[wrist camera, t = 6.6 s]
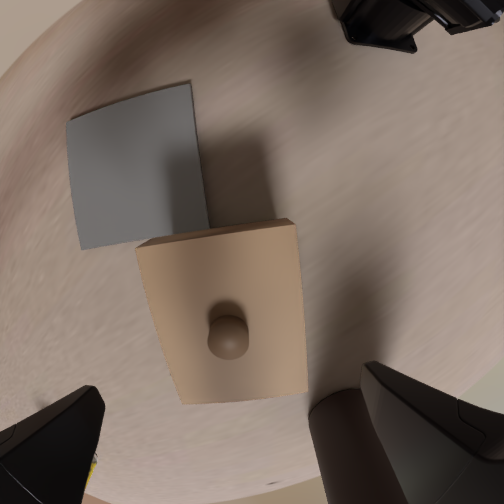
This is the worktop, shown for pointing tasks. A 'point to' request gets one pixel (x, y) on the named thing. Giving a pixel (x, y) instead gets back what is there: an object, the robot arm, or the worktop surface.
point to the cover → (229, 310)
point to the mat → (137, 169)
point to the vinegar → (352, 453)
